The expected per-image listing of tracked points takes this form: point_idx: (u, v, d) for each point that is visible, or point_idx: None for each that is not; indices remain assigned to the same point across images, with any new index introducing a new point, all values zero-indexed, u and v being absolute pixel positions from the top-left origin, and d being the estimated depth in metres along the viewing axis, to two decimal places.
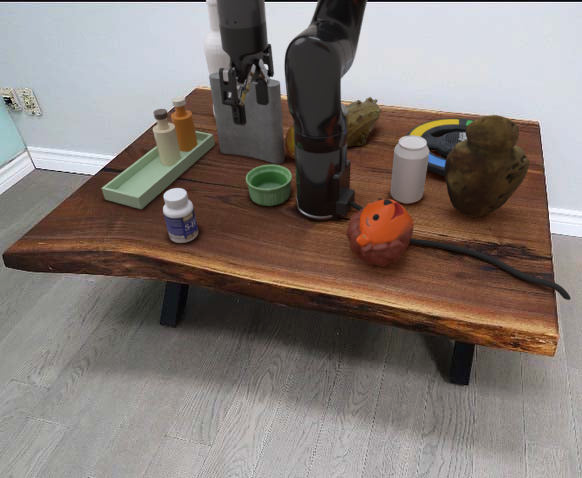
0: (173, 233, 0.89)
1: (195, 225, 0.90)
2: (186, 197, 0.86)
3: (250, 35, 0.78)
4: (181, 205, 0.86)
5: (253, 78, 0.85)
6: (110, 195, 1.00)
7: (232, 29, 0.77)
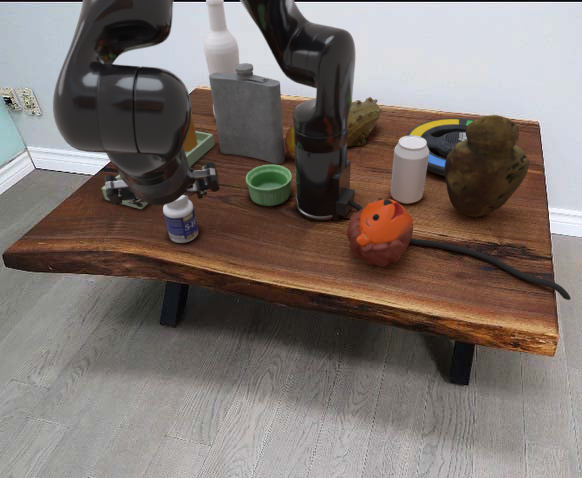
0: (173, 233, 0.89)
1: (195, 225, 0.90)
2: (186, 197, 0.86)
3: None
4: (181, 205, 0.86)
5: None
6: None
7: None
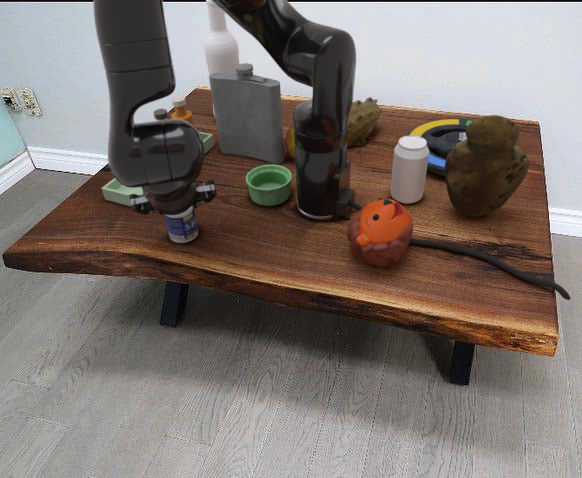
0: (173, 233, 0.89)
1: (195, 225, 0.90)
2: None
3: None
4: None
5: None
6: (110, 195, 1.00)
7: None
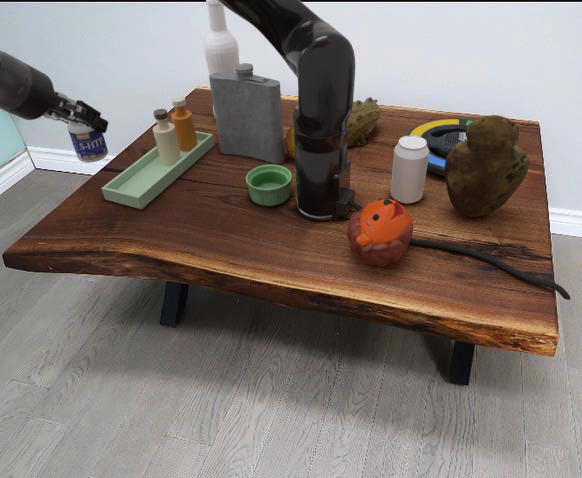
0: (74, 148, 0.88)
1: (95, 149, 0.87)
2: None
3: (36, 73, 0.73)
4: None
5: None
6: (110, 195, 1.00)
7: (32, 87, 0.71)
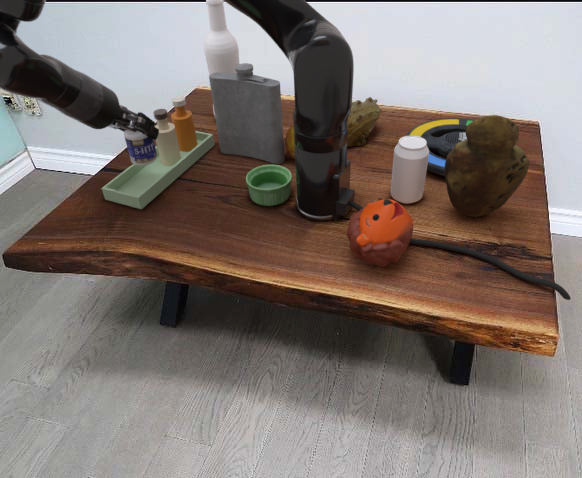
0: None
1: (147, 153, 0.99)
2: None
3: (106, 89, 0.85)
4: None
5: None
6: (110, 195, 1.00)
7: (103, 101, 0.84)
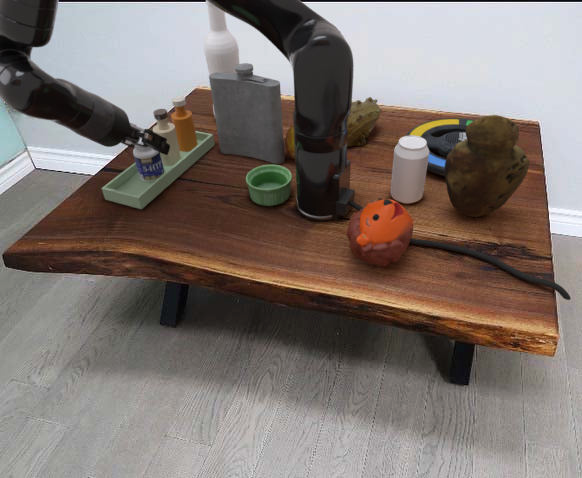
0: (137, 169, 1.04)
1: (155, 171, 1.03)
2: None
3: (117, 109, 0.89)
4: (141, 148, 1.00)
5: None
6: (110, 195, 1.00)
7: (114, 121, 0.87)
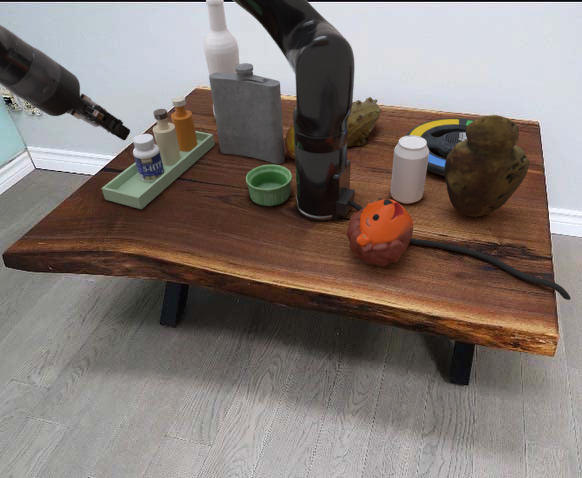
0: (137, 169, 1.04)
1: (155, 171, 1.03)
2: (148, 144, 1.00)
3: (66, 75, 0.76)
4: (141, 148, 1.00)
5: None
6: (110, 195, 1.00)
7: (58, 87, 0.75)
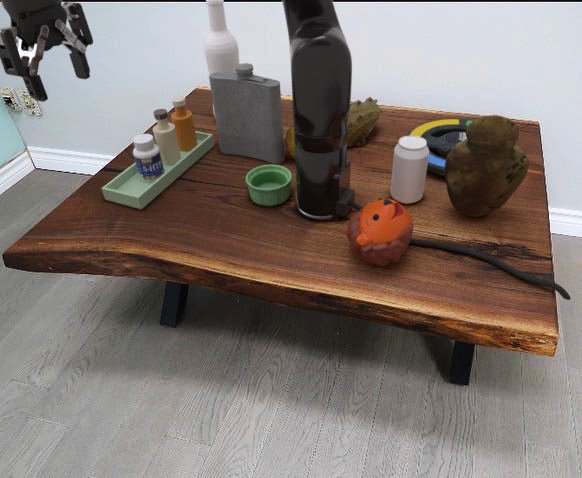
0: (137, 169, 1.04)
1: (155, 171, 1.03)
2: (148, 144, 1.00)
3: None
4: (141, 148, 1.00)
5: (52, 43, 0.70)
6: (110, 195, 1.00)
7: None
